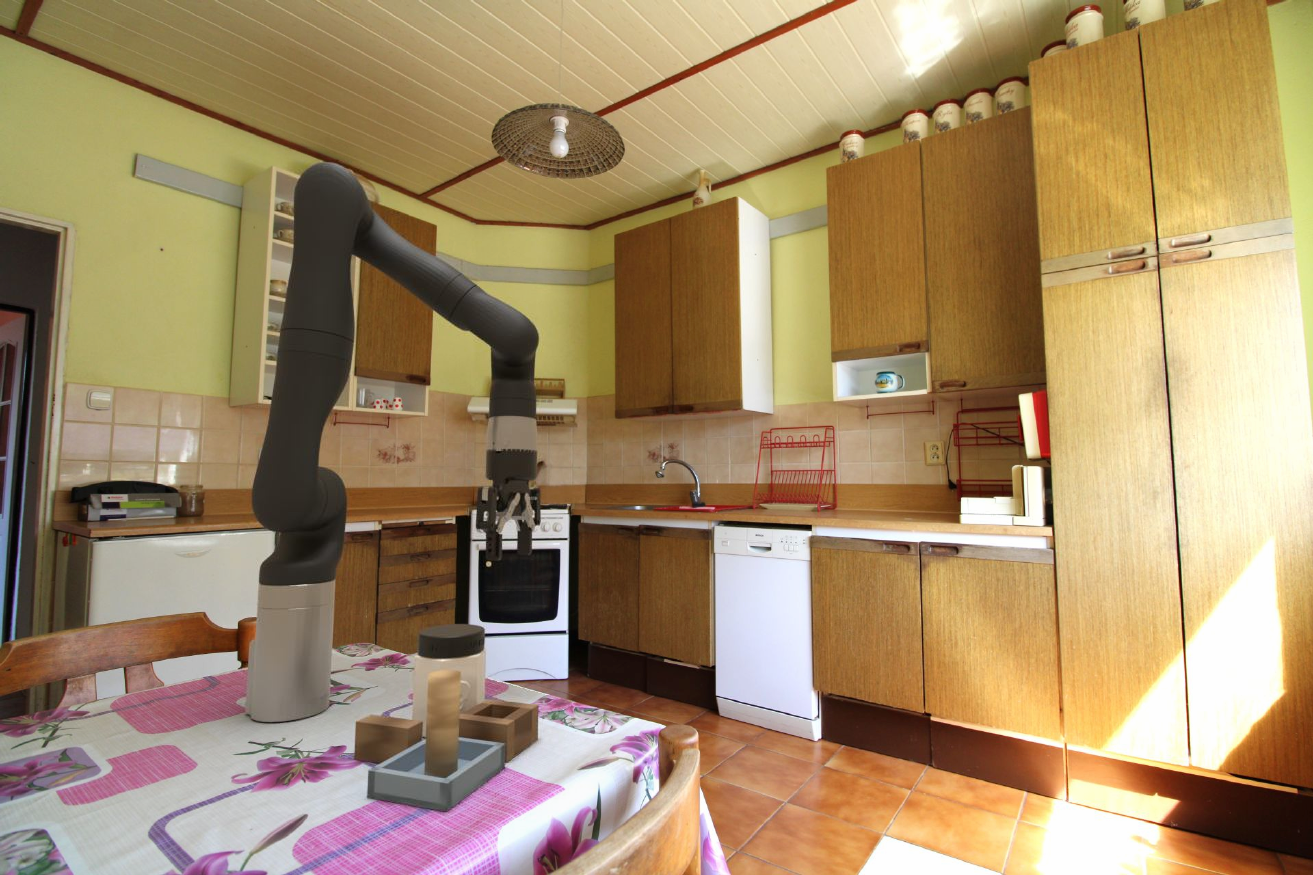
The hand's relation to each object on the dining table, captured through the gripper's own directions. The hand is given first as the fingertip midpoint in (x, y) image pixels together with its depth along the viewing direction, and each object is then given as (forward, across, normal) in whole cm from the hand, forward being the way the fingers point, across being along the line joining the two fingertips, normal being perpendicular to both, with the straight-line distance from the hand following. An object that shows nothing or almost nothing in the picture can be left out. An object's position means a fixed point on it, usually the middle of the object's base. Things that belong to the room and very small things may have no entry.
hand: (509, 557), depth 94 cm
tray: (+20, +27, +8) cm, 34 cm away
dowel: (+19, +26, +9) cm, 34 cm away
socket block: (+20, +17, +9) cm, 28 cm away
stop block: (+20, +24, 0) cm, 31 cm away
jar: (+20, +13, 0) cm, 24 cm away
